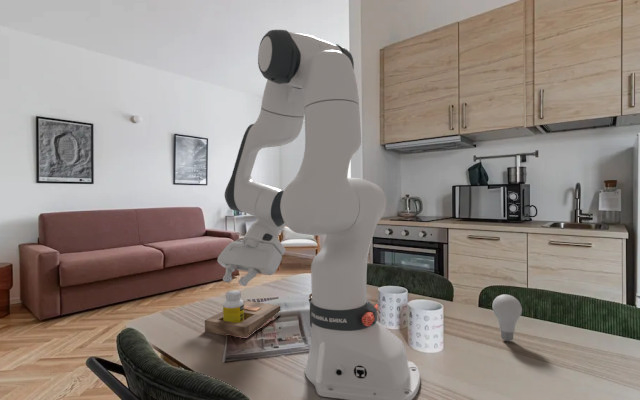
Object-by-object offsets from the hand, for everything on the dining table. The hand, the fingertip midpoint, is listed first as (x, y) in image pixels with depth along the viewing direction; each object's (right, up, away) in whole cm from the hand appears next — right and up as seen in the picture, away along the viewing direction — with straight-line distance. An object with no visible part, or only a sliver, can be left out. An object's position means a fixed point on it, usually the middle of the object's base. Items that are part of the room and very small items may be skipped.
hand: (233, 282), depth 89 cm
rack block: (+2, -12, +4) cm, 13 cm away
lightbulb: (+67, -11, -10) cm, 69 cm away
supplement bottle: (0, -13, 0) cm, 13 cm away
